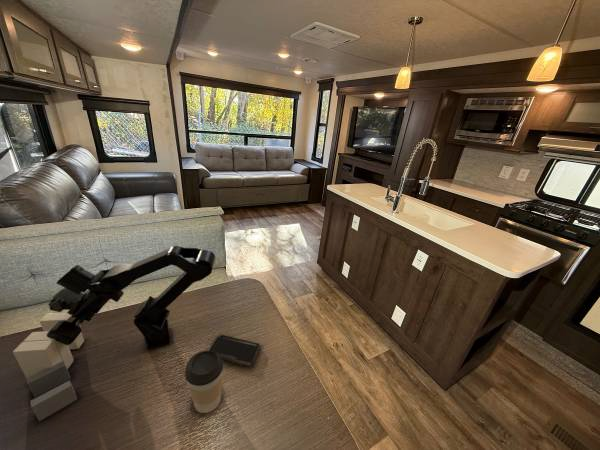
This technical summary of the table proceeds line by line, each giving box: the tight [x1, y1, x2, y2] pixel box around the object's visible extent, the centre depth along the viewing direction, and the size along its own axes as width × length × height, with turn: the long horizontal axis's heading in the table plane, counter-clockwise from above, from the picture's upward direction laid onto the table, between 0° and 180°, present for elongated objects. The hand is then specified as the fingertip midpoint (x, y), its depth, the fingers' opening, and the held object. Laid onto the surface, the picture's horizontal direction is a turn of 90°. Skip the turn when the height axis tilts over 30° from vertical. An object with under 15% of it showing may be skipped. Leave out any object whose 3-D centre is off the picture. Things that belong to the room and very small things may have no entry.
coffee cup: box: [184, 349, 224, 414], centre depth 64 cm, size 9×9×15 cm
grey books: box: [26, 361, 78, 422], centre depth 63 cm, size 7×10×6 cm
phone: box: [209, 334, 261, 367], centre depth 80 cm, size 8×1×15 cm
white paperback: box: [39, 312, 85, 350], centre depth 75 cm, size 7×3×12 cm, turn 100°
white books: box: [12, 331, 74, 379], centre depth 67 cm, size 7×6×12 cm
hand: (67, 328), depth 76 cm, fingers open, 6 cm apart
